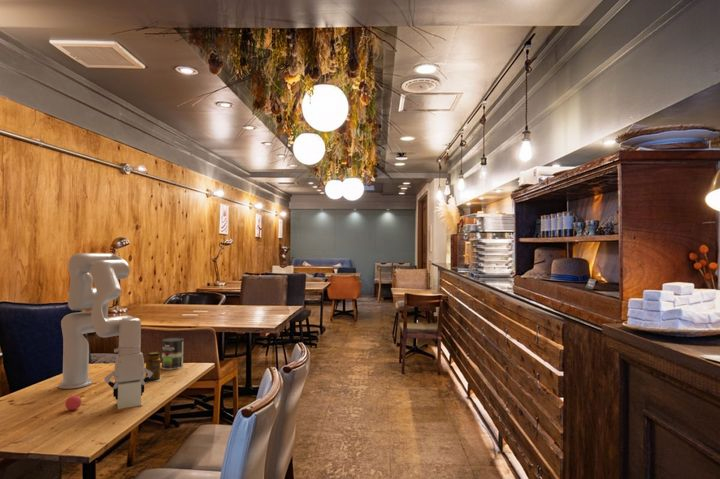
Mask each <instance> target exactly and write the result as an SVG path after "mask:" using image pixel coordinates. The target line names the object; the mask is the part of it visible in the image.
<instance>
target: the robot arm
mask: <svg viewBox="0 0 720 479" xmlns="http://www.w3.org/2000/svg"><path fill="white" fill-rule="evenodd" d="M67 266H68V267H67V268H68V272H69V278H70V279H69V280H70V281H69V288H68V289H69V290H68V298H67V305H68V308H69V309H70V310H71V311H78V312H71V313H68V314H66V315H64V316H63V317H62V319H61V321H60V323H61V324H60V326H61V332H62V339H63V340H62V342H63V344H62V346H63V349H62V352H63V354H62V356H63V357H62V381H61V382H59V383H58V384H57V387H58V388H59V389H63V390H71V389H80V388H85V387H87V386H90V385H92V383H93V379H91V378H89V366H90V365H89V363H90V362H89V361H90V359H89V358H90V357H89V356H90V345H89V341H88V340H87V338H86V337H85V336H84V334H85V335H86V334H89V333H95V334H96V335H97V337H99V338H111V337H116V336H118V347H116V348H114V349H113V351H114V353H117V354H116V356H115V362H114V370H113V371H112V372H111V373H109V374H108V375H106V376H105V377H104V382H106V383H107V384H108V386H109V387H111V388H112V390H113V391H112V392H113V393H112V394H113V395H112V396H113V398H115V400H117V399H118V387H117V386H118V383H121V382H129V381H137V380H139V381H141V397H142V396H143V393H145V385H146V384H147V383H148V382H147V381H148V380H149V378H150V377H151V376H152V374H153V372H152V371H150V370H148V369H146V367H145V359H144V353H143V352H142V351H141V349H142V348H141V344H142V343H141V340H142V339H141V338H142V333H141V332H142V321H141V319H140V318H139V317H134V316H131V315H127V314H126V315H117V316H116V315H115V316H109V315H108V314H109V309H110V308H109V307H110V302H111V301H114V300H116V299H117V298H119V297H120V296H121V295H122V288H121V284H120V282H119V280H125V279H128V277H129V276H130V273H131V272H130V271H131V269H130V265H129V262H127V260H125V259H124V258H122V257H120V256H119V255H116V254H115V253H109V252H105V253H104V252H83V253H82V252H80V253H76V254H73V255H71V256H70V257H69V260H68V265H67ZM93 285H94V286H95V287H93ZM87 310H88V311H87ZM89 310H91V311H89ZM79 311H80V312H79ZM146 373H147V374H148V375H147V376H146V375H145V374H146ZM113 377H114V379H113V380H114V382H113V381H112V380H111V379H112V378H113Z"/></svg>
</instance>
